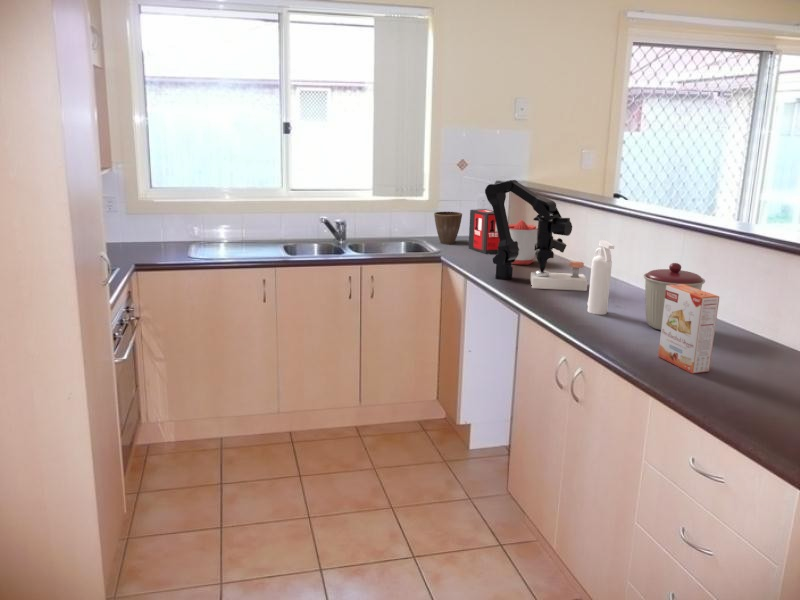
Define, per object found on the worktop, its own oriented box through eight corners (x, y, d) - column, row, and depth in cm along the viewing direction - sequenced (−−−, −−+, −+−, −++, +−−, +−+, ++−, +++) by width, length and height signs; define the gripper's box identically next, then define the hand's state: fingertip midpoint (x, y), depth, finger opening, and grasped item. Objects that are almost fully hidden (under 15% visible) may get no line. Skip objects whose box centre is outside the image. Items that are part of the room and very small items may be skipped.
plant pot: (447, 246, 357) (448, 215, 353) (427, 242, 368) (428, 212, 364) (466, 243, 367) (468, 213, 363) (446, 239, 378) (447, 210, 374)
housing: (532, 288, 269) (532, 278, 268) (530, 281, 280) (530, 271, 279) (586, 290, 266) (587, 280, 265) (582, 283, 278) (583, 274, 277)
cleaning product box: (500, 253, 342) (503, 213, 337) (485, 254, 338) (487, 213, 333) (483, 247, 356) (485, 209, 351) (468, 248, 352) (470, 209, 347)
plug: (534, 285, 272) (535, 272, 270) (533, 282, 277) (534, 269, 276) (549, 286, 271) (550, 273, 270) (547, 283, 276) (548, 270, 275)
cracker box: (656, 357, 191) (665, 284, 185) (674, 355, 192) (683, 283, 187) (691, 374, 178) (701, 296, 172) (710, 372, 180) (721, 295, 174)
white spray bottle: (598, 305, 244) (604, 236, 236) (613, 316, 232) (620, 243, 225) (580, 306, 242) (585, 237, 235) (594, 317, 231) (600, 244, 224)
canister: (685, 320, 228) (693, 258, 222) (708, 336, 210) (717, 269, 205) (631, 319, 228) (637, 257, 223) (648, 335, 211) (656, 268, 205)
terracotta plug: (569, 276, 269) (570, 263, 268) (567, 273, 275) (568, 260, 273) (583, 277, 269) (584, 264, 267) (581, 274, 274) (582, 261, 273)
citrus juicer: (542, 266, 310) (545, 222, 305) (504, 265, 311) (506, 222, 306) (536, 260, 326) (539, 218, 321) (500, 259, 326) (502, 217, 321)
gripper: (568, 237, 259) (565, 277, 263) (563, 230, 277) (560, 267, 281) (538, 236, 260) (535, 276, 264) (535, 229, 278) (532, 266, 282)
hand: (542, 271), depth 273 cm, fingers closed, pressing on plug
